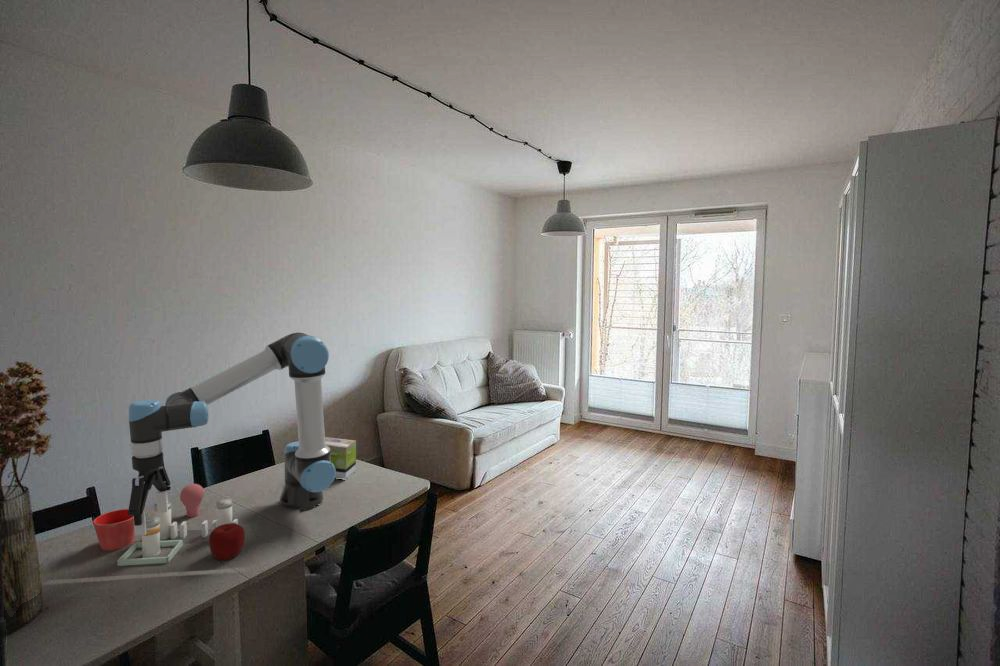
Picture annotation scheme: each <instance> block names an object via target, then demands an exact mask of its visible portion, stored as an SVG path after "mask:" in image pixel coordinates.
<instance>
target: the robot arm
mask: <svg viewBox="0 0 1000 666" xmlns="http://www.w3.org/2000/svg"><path fill="white" fill-rule="evenodd" d="M329 358H330V354H329V349H328V347H327V345H326V343H324V341H322V340H321V339H320V338H319V337H316V336H313V335H309V334H307V333H304V332H292V333H290V334H287V335H284V336H283V337H281V338H279V339H276V341H273V342H272V343H270V344H267V345H266V346H265V348H264V350H262V351H260V352H258V353H257V354H255V355H252V356H250V357H248V358H247V359H245V360H243V361H241V362H239V363H236V364H235V365H233V366H231V367H229V368H227V369H225V370H223V371H221V372H219V373H217V374H215V375H212V376H211V377H209V378H207V379H205V380H203V381H201V382H199V383H198V384H195V385H193V386H191V387H190V388H186V389H185V390H183V391H177V392H176V391H175V392H172V393H171V394H170V395H168V396H167V398H166V399H165V402H164V405H161V402H160V400H159V399H142V400H137V401H134V402H132V403H131V404H130V405H129V406H128V425H129V435H130V436H129V437H130V438H129V439H130V444H129V446H130V447H131V448H130V450H131V455H132V456H131V465H132V469H133V470H134V471H137V472H138V475H137V476H138V477H133V478H132V480H131V492H130V499H129V505H128V509H129V510H128V515H133V519H134V533H135V535H134V537H135V536H136V537H137V536H142V535H146V534H147V531H146V518H147V517H146V511H144V510H145V506H146V502H147V499H148V496H149V495H148V494H149V491H151V490H152V488H153V486H154V488H155V489H156V490H157V491H156V492H155V497H156V503H157V513H164V512H168V501H169V500H168V491H170V490H171V489H172V488H171V481H170V478H169V476H168V472H167V470H166V468H165V461H164V452H163V450H164V446H163V445H164V444H163V432H169V431H175V430H176V431H177V430H182V429H183V430H185V429H191V428H198V427H203V426H206V425H207V424H208V422H209V409H208V405H211V404H212V403H214V402H217V401H218V400H220V399H221V398H224V397H225V396H228V395H229V394H231V393H233V392H235V391H236V390H239V389H241V388H243V387H245V386H247V385H248V384H250V383H252V382H254V381H257V380H258V379H260V378H262V377H263V376H265V375H268V374H269V373H271V372H273V371H275V370H277V371H278V370H279V371H281V370H284V368H285V369H286V368H287V367H288V377H289V378H290V379H291V380H293V383H294V393H295V394H294V395H295V404H296V405H295V406H296V407H295V410H296V423H297V437H298V440H296V441H292V442H290V443H287V444H286V445H285V446H284V453H283V456H284V486H283V488H282V491H281V493H280V494H281V495H280V498H279V506H281V507H283V508H286V509H290V510H298V509H299V511H300V510H301V511H306V510H305V509H307V510H310V509H309V508H311V509H313V508H312V507H314V506H316V505H318V504H320V503H321V502H322V500H323V501H324V494H323V493H324V492H323V491H324V490H326V489H328V488H330V486H331V484H332V483H333V482H334V481H335V480H336V479H335V476H336V469H335V466H334V464H333V463H331V454H330V448H329V447H328V446H327V445H326V444H325V437H326V435H325V434H326V432H325V422H324V421H325V420H324V419H325V418H324V402H323V388H322V387H323V386H322V384H323V383H322V378H323V377H324V376H325V375H326V365H327V364H328V362H329ZM322 503H323V502H322ZM322 503H321V504H322ZM321 504H320V505H321ZM318 506H319V505H318ZM316 507H317V506H316ZM314 508H315V507H314Z"/></svg>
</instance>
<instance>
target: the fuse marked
mask: <svg viewBox="0 0 1000 666" xmlns="http://www.w3.org/2000/svg"><path fill="white" fill-rule="evenodd" d="M146 531H147V534H146V535H141V542H142V548H141V551H142V552H141V555H142V556H141V558H154V557H159V556H160V555H161V547H160V518H159V517H154V516H150V517H146Z"/></svg>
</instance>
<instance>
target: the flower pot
mask: <svg viewBox="0 0 1000 666" xmlns="http://www.w3.org/2000/svg"><path fill="white" fill-rule="evenodd" d="M128 510H129V508H125V509H117V510H112V511H107V512H105V513H103V514H100V515H99V516H97V517H96V518H95V519H93V521H92V523H93V526H94V530H95V533H96V536H97V540H98V543H99V547H100V549H101V550H103V551H116V550H120V549H124V548H126V547H128V546H130V545H131V544H132V543H133V542H134V540H135V533H134V519H133V515H128Z"/></svg>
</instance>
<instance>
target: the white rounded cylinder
mask: <svg viewBox="0 0 1000 666" xmlns="http://www.w3.org/2000/svg"><path fill="white" fill-rule="evenodd" d="M215 505H216V520H217V527H218V526H221V525H224V524H229V523H232V522H233V521H234V519H233V499H231V498H222V499H219V500H218V501H216V502H215Z"/></svg>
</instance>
